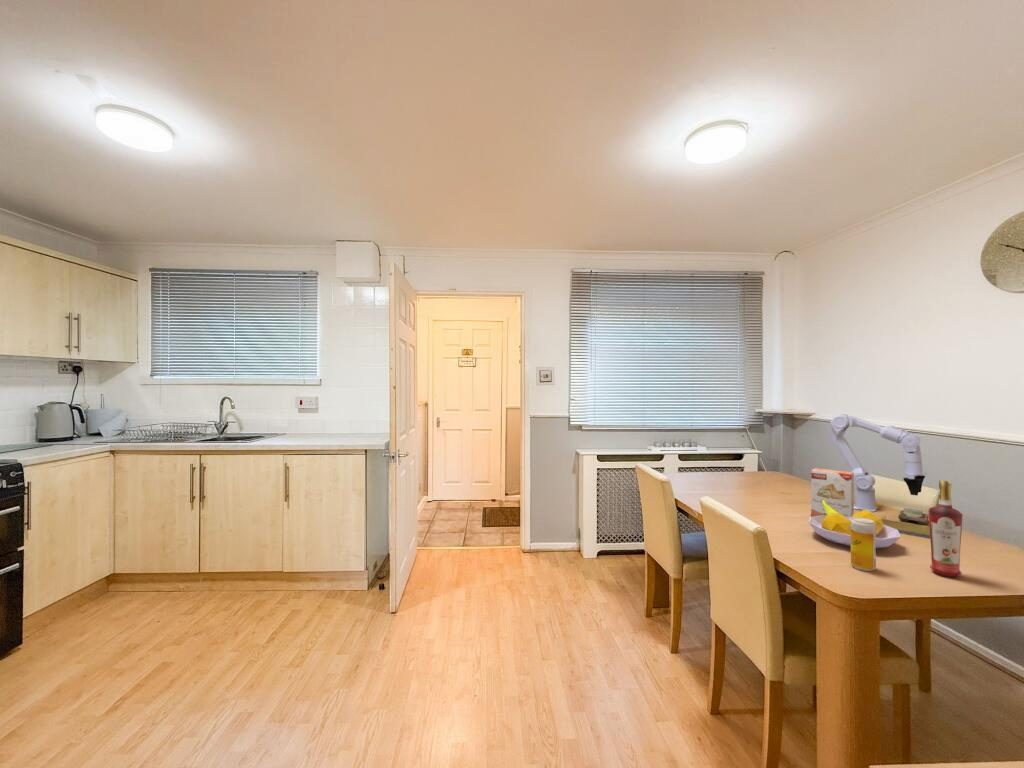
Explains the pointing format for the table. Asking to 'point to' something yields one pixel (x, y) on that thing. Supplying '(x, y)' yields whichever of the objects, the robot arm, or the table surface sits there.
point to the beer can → (863, 544)
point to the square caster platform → (913, 515)
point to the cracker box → (832, 491)
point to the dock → (907, 527)
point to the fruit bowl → (840, 527)
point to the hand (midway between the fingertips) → (915, 493)
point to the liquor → (945, 534)
